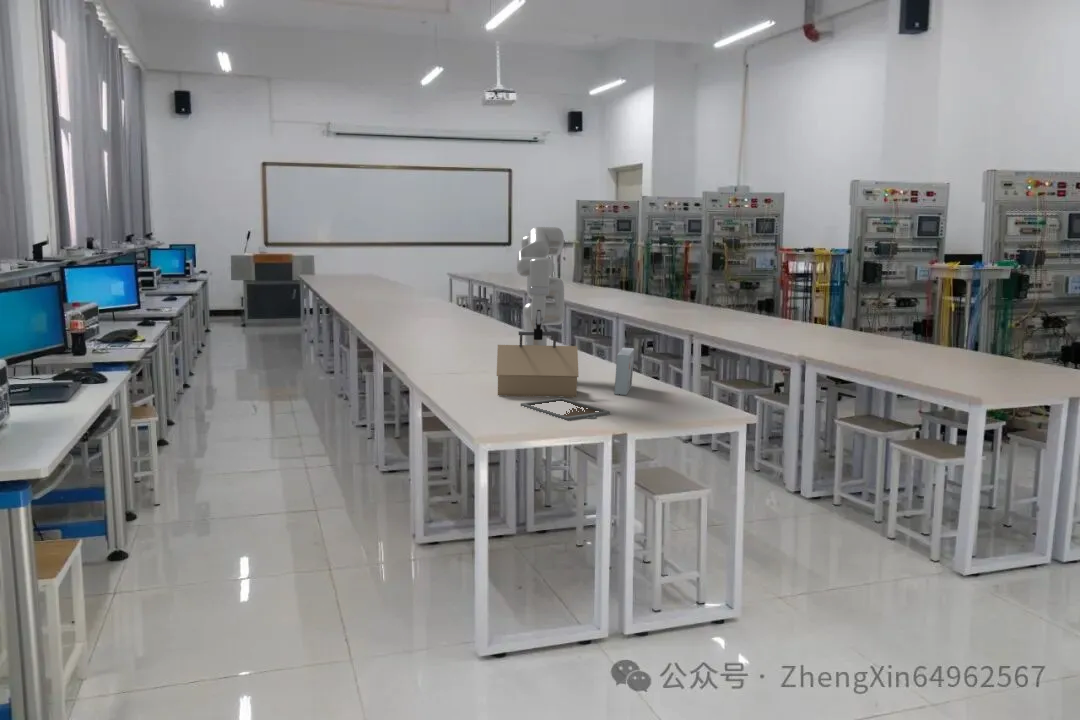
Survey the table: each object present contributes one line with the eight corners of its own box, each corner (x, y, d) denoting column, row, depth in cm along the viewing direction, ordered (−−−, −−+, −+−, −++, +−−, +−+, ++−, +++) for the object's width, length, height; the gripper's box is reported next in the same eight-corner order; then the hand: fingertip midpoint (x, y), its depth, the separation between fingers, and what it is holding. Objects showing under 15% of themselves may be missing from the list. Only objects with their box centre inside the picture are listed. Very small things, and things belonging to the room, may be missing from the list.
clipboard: (561, 397, 320) (615, 412, 296) (561, 401, 320) (615, 417, 296) (520, 403, 308) (572, 419, 285) (520, 407, 309) (572, 424, 285)
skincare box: (627, 395, 332) (629, 355, 329) (613, 394, 333) (615, 354, 330) (633, 385, 352) (634, 347, 349) (619, 385, 353) (621, 346, 351)
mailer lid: (497, 345, 334) (497, 329, 327) (577, 346, 335) (578, 331, 328) (496, 375, 324) (496, 360, 317) (578, 377, 325) (580, 361, 318)
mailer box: (498, 388, 339) (498, 369, 338) (574, 390, 340) (574, 371, 339) (497, 395, 325) (497, 376, 324) (576, 397, 326) (577, 377, 325)
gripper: (528, 289, 333) (528, 336, 335) (529, 292, 317) (528, 341, 320) (548, 290, 333) (547, 337, 336) (549, 292, 317) (548, 342, 320)
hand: (538, 339), depth 328 cm, fingers closed on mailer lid
